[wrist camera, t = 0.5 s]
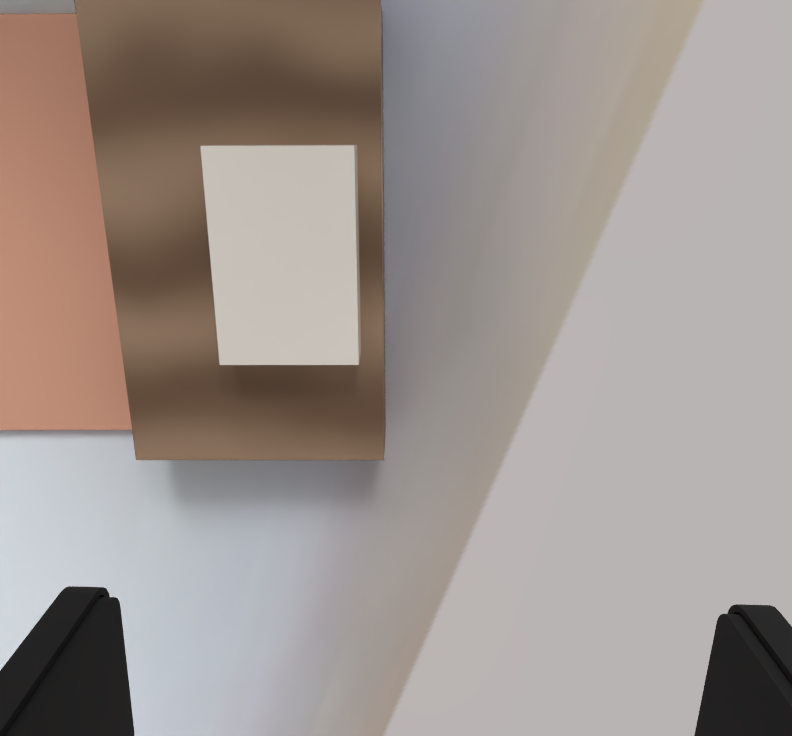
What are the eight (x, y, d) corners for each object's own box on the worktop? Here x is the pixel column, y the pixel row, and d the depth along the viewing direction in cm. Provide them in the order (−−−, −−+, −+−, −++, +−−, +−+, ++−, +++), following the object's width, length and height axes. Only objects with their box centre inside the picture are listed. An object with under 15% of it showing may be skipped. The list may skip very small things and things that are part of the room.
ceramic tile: (213, 145, 29) (200, 145, 27) (357, 144, 29) (354, 145, 27) (230, 351, 32) (219, 364, 30) (361, 351, 32) (358, 364, 30)
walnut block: (113, 15, 31) (74, -2, 27) (382, 14, 31) (379, -3, 27) (162, 426, 37) (136, 459, 34) (385, 426, 37) (383, 459, 34)
